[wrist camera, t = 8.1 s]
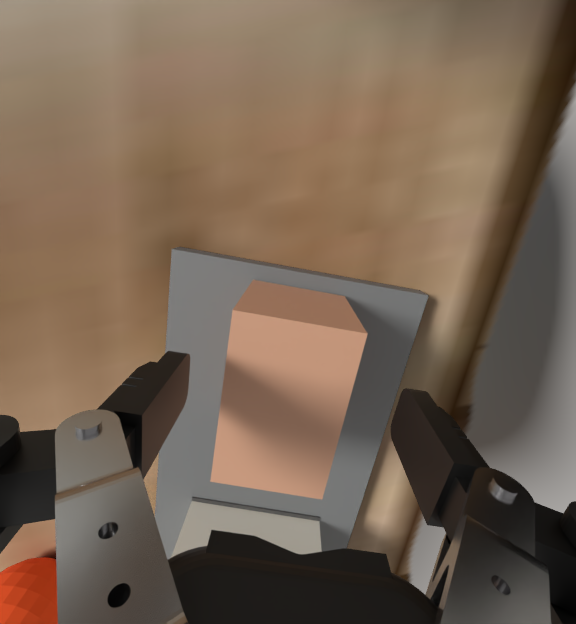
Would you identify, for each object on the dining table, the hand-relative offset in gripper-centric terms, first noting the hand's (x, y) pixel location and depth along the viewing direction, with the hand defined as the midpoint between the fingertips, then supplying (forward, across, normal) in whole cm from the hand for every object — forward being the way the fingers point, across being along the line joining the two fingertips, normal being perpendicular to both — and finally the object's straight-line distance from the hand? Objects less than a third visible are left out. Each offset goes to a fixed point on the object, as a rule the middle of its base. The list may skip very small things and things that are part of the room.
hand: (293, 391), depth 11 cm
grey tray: (+7, 0, +10) cm, 13 cm away
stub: (+6, 0, +2) cm, 6 cm away
